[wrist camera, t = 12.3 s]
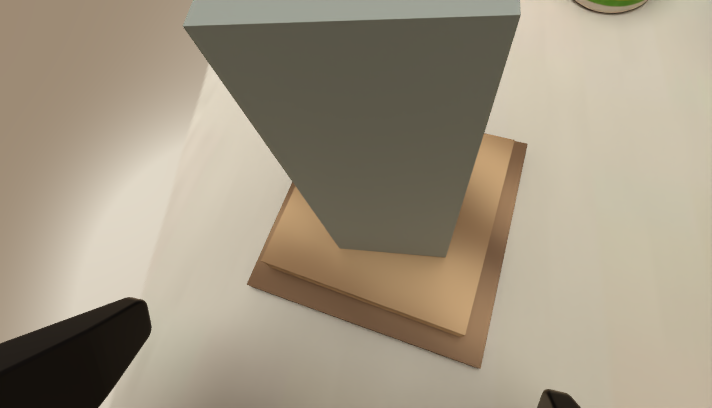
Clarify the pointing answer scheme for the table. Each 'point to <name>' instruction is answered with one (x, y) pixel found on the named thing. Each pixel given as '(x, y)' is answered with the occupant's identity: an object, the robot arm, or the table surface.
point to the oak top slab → (401, 271)
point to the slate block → (366, 103)
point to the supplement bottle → (611, 5)
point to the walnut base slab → (394, 324)
